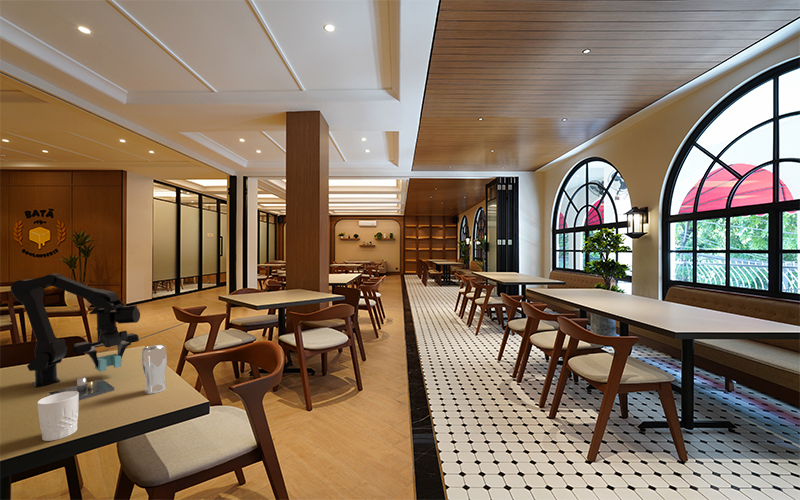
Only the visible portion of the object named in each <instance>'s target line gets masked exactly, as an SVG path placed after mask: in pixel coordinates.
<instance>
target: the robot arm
mask: <svg viewBox="0 0 800 500" xmlns="http://www.w3.org/2000/svg"><path fill="white" fill-rule="evenodd" d="M50 287H54V288H57V289H60V290H62V291H64V292H67V293H69V294H72V295H75V296H78V297H81V298H82V299H84V300H86V301H87V302H88V303H89V304H90V305H92V306H94V308H93V309H92V310H91V311H90V312H89V315H96V335H97V336H96V337H97V338H96V341H95V342H89V341H83V342H81V341H80V342H77V343H76V342H75V343H74V345H73V346H72V350H73V351H72V352H74V353H75V354H81V353H82V354H86V355H88V356H89V357H90V359H91V361H92V362H93V364H94V367H95V366H96V368H98V360H97V358H98V355H97V354H98V352H97V350H96V348H99V347H104V348H111V347H114V346H115V347H116V346H117V355H119V356H121V360H122V359H123V355H124V353H125V350H126V349H127V348H128V347H129V346H131V345H132V343H137V342H139V340H140V338H139V337H140V336H139V335H138V334H137V333H134V332H131V333H128V331H127V330H121V331H119V330H118V326H117V324H121V325H122V324H136V323H139V321H140V319H141V312H140V310H139V308H138V305H137V304H136V305H135V304H133V305H125V304H124V303H123V302H122V301H121V299H119V296H118V294H117V292H115V291H111V290H107V289H100V288H95V287H92V286H88V285H86V284H84V283H82V282H79V281H76V280H74V279H71V278H69V277H66V276H64V275H62V274H60V273H51V274H46V275H44V276H43V275H42V276H41V277H37V278H29V279H28V278H27V279H20V280H16V281H14V282H13V283H12V285H11V286H10V292H11V294H12V295H13V297H14V298H15V300H16V301H18V302H19V303H20V304H22V306H23V307H24V310H25V312H26V315H27V318H28V320H29V323H30V325H31V329H32V331H33V334H34V336H35V340H36V344H35V348H34V355H35V358H34V359H33V360H32V361H31V362H29V364H27V366H26V367H27V369H28V371H29V372H33V371H34V380H35V381H34V382H32V385H33V386H34V387H35V388H38V387H45V386H47V385H52V384H56V383H59V382H61V380H60V379H59V378H58V369H57V364H60V363H62V361H63V359H64V358H65V356H66V355H67V352H68V350H67V349H69V347H68V346H67V345H66V340H65V338H61V339H59V338H58V337H56V335H55V331H54V330H53V327H52V323H51V321H50V318H49V315H48V314H47V310H46V306H45V304H44V302H43V301H44V300H43V299H44V296H45V289H47V288H50Z"/></svg>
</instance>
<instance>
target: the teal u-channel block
mask: <svg viewBox="0 0 800 500" xmlns="http://www.w3.org/2000/svg"><path fill="white" fill-rule="evenodd" d="M97 360H98V368H96V366H95V365H94V369H96V370H97V371H99V372H105V371H107V369H108V367H111V366H113V368H115V369H116V368H117V369H118V368H121V367H122V359H121V356H119V355H118V353H112V354H108V355H102V356H97Z"/></svg>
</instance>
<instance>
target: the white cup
mask: <svg viewBox="0 0 800 500" xmlns="http://www.w3.org/2000/svg"><path fill="white" fill-rule="evenodd" d="M79 401H80V400H79V392H77V391H68V392H62V393H57V394H53V395H50V396H49V395H47V396H45V397H42V398H41V399H39V400H38V401H37V402H36V403H37V411H38V420H39V426H40V427H39V428H40V431H41V438H42V441H45V442H52V441H57V440H61V439H63V438H66V437H69V436H70V435H73V434H74V433H76V432H77V431H78V420H79V406H80V405H79Z"/></svg>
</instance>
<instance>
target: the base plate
mask: <svg viewBox="0 0 800 500" xmlns="http://www.w3.org/2000/svg"><path fill="white" fill-rule="evenodd" d="M68 391H77V392H79V401H82V400H85V399H88V398H89V399H90V398H92V397H94V396H99V395H103V394H106V393H109V392H113V391H115V386H113V385H112V384H110V383H108V382H107V381H106V380H104V379H103V378H102V379H101V378H100V379H97V380H94V381H87V377H86V376H84V377H78V378H77V379H76V385H74V386H70V387H66V388H62V389H58V390H54V391H51V392H48V396H50V395H53V394H57V393H62V392H68Z"/></svg>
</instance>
